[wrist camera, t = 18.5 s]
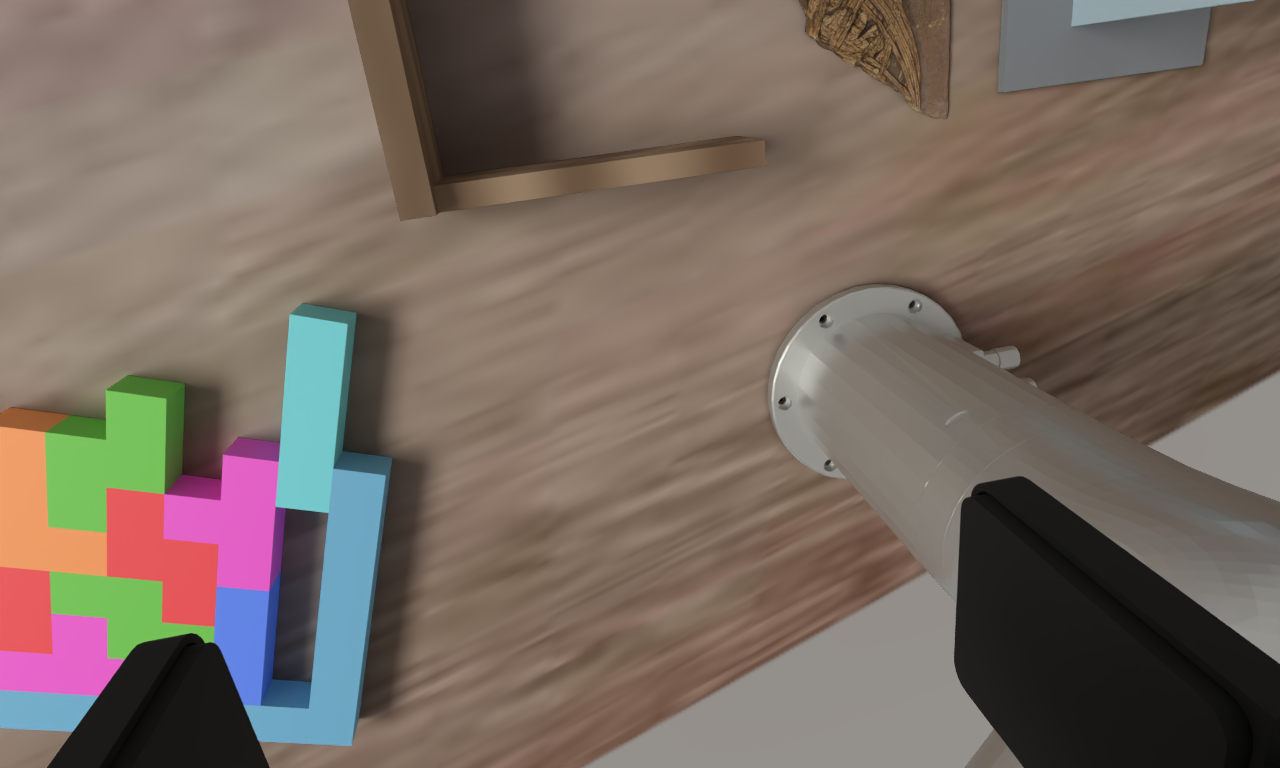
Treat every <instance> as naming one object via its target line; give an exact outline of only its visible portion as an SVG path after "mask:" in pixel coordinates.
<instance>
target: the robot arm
mask: <svg viewBox="0 0 1280 768" xmlns="http://www.w3.org/2000/svg"><path fill="white" fill-rule="evenodd" d="M911 301H912V302H911ZM910 303H911V305H910V306H909V304H910ZM822 315H824V319H823V320H822V321H819V320H820V318H821V317H822ZM1019 364H1020V354H1019V352H1018V349H1017V348H1016V347H1015V346H1005V347H999V348H993V349H990V350H988V351H982V350H980V349H978V348H977V347H975V346H973V345H971V344H969V343H967V342H965V341H963V338H962V335H961V332H960V330H959V329H958V327H957V325H956V324H955V322H954V320H953V319H952V317H951V316H950V315H949V314H948V313H947V312H946V311H945V310H944V309H943V308H942V307H941V306H940V305H939V304H937V303H936V302H934V301H933V300H931V299H930V298H928V297H927V296H925V295H923V294H921V293H918V292H916V291H914V290H912V289H909V288H905V287H901V286H897V285H890V284H870V285H864V286H858V287H853V288H851V289H848V290H845V291H842V292H839V293H837V294H834V295H833V296H831V297H829V298H827V299H826V300H824V301H822V302H820V303H819V304H817V305H816V306H815V307H814V308H812V309H811V310H810V311H809V312H808V313H806V314H805V315H804V316H803V317H802V318H801V319H800V320H799V321H798V322H797V323H796V325H795V326H794V327H793V328H792V329H791V330H790V332H789V333H788V334H787V336H786V338H785V339H784V341H783V343H782V344H781V346H780V348H779V349H778V352H777V354H776V357H775V359H774V362H773V365H772V367H771V372H770V377H769V382H768V408H769V412H770V417H771V421H772V424H773V426H774V428H775V430H776V432H777V435H778V437H779V438H780V439H781V441H782V442H783V444H784V445H785V446H786V448H787V449H788V450H789V451H790V452H791V453H792V455H793V456H794V457H795V458H796V459H797V460H798V461H799V462H801V463H802V464H804V465H805V466H807V467H808V468H810V469H811V470H813V471H815V472H817V473H820V474H822V475H825V476H828V477H833V478H839V479H844V480H848V481H849V482H850V483H851V484H852V486H853V487H854V488H855V489H856V490H857V491H858V492H859V494H860V495H861V496H862V497H863V498H864V499H865V500H866V502H867V503H868V504H869V505H870V506H871V507H872V509H873V510H874V511H875V512H876V513H877V514H878V515H879V517H880V518H881V519H882V520H883V521H884V522H885V523H886V525H887V526H888V527H889V528H890V529H891V530H892V531H893V533H894V534H895V535H896V536H897V537H898V538H899V540H900V541H901V542H902V543H903V544H904V545H905V546H906V548H907V549H908V550H909V551H910V552H911V553H912V554H913V556H914V557H915V558H916V559H917V560H918V561H919V562H920V564H921V565H922V566H923V567H924V568H925V569H926V571H927V572H928V573H929V574H930V575H931V576H932V577H933V579H934V580H935V581H936V582H937V583H938V584H939V585H940V587H942V589H943V590H944V591H945V592H946V593H947V594H948V595H949V596H950V597H951V598H952V599H953V600H954V601H955V602H956V603H957V605H956V628H955V650H954V663H955V668H956V672H957V675H958V678H959V680H960V683H961V685H962V686H963V688H964V689H965V691H966V692H967V694H968V695H969V696H970V698H971V699H972V700H973V702H974V703H975V704H976V705H977V707H978V708H979V709H980V711H981V712H982V713H983V715H984V716H985V717H986V719H987V720H988V721H989V723H990V724H991V725H992V727H993V728H994V730H993V731H992V732H991V733H990V735H989V736H988V738H987V739H986V740H985V741H984V743H983V744H982V745H981V747H980V748H979V749H978V751H977V752H976V753H975V755H974V756H973V757H972V758H971V760H970V761H969V762H968V764H967V765H966V766H965V768H1280V502H1279V501H1276V500H1273V499H1270V498H1267V497H1265V496H1262V495H1259V494H1256V493H1254V492H1251V491H1248V490H1246V489H1243V488H1240V487H1237V486H1235V485H1232V484H1230V483H1227V482H1224V481H1222V480H1220V479H1217V478H1215V477H1213V476H1210V475H1208V474H1205V473H1203V472H1200V471H1198V470H1196V469H1193V468H1191V467H1188V466H1186V465H1184V464H1182V463H1180V462H1178V461H1176V460H1174V459H1172V458H1170V457H1168V456H1166V455H1164V454H1162V453H1160V452H1158V451H1156V450H1154V449H1152V448H1150V447H1148V446H1146V445H1144V444H1142V443H1140V442H1138V441H1136V440H1134V439H1132V438H1130V437H1128V436H1126V435H1124V434H1122V433H1120V432H1118V431H1116V430H1114V429H1113V428H1111V427H1109V426H1107V425H1105V424H1103V423H1101V422H1100V421H1098V420H1096V419H1094V418H1092V417H1090V416H1089V415H1087V414H1085V413H1083V412H1081V411H1079V410H1077V409H1075V408H1073V407H1072V406H1070V405H1068V404H1066V403H1064V402H1062V401H1061V400H1059V399H1057V398H1055V397H1053V396H1052V395H1050V394H1048V393H1046V392H1044V391H1042V390H1041V389H1039V388H1038V387H1037V385H1036V383H1035V382H1034V381H1033V380H1032V379H1031V378H1030V377H1021V378H1019V377H1017V376H1015V375H1013V374H1011V373H1009V372H1008V371H1006V370H1007V369H1013V368H1017V367H1018V366H1019ZM783 397H784V399H783V400H782V401H780V402H778V401H779V400H780V399H781V398H783ZM47 768H269V765H268V763H267V760H266V758H265V755H264V753H263V751H262V748H261V746H260V743H259V741H258V739H257V736H256V734H255V731H254V729H253V727H252V724H251V722H250V719H249V717H248V714H247V712H246V710H245V707H244V705H243V702H242V700H241V698H240V695H239V693H238V690H237V688H236V686H235V683H234V681H233V678H232V676H231V673H230V671H229V669H228V666H227V664H226V661H225V659H224V657H223V654H222V652H221V650H220V648H219V647H218V646H217V645H216V644H215V643H212V642H208V643H205V642H204V640H203V639H202V638H201V637H200V636H199V635H198V634H194V633H189V634H184V635H178V636H173V637H168V638H162V639H157V640H152V641H147V642H143V643H140V644H138V645H136V646H135V647H134V648H133V649H132V650H131V652H130V653H129V654H128V656H127V657H126V659H125V660H124V661H123V663H122V664H121V666H120V667H119V668H118V670H117V671H116V673H115V674H114V675H113V677H112V678H111V679H110V681H109V682H108V684H107V685H106V686H105V688H104V689H103V691H102V692H101V693H100V695H99V696H98V698H97V699H96V700H95V702H94V703H93V705H92V706H91V707H90V709H89V710H88V711H87V713H86V714H85V716H84V717H83V718H82V720H81V721H80V723H79V724H78V725H77V727H76V728H75V730H74V731H73V732H72V734H71V735H70V736H69V738H68V739H67V741H66V742H65V743H64V745H63V746H62V748H61V749H60V750H59V752H58V753H57V755H56V756H55V757H54V759H53V760H52V762H51V763H50V764H49V766H48V767H47Z"/></svg>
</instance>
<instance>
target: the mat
mask: <svg viewBox="0 0 1280 768" xmlns="http://www.w3.org/2000/svg"><path fill="white" fill-rule="evenodd" d="M1072 12H1073V0H1002V14H1001V33H1000V52H999V71H998V90H997V92H1009V91H1016V90H1024V89H1031V88H1038V87H1045V86H1053V85H1060V84H1067V83H1075V82H1082V81H1089V80H1096V79H1104V78H1111V77H1118V76H1126V75H1133V74H1140V73H1147V72H1155V71H1162V70H1169V69H1176V68H1184V67H1191V66H1198V65H1203V60H1204V53H1205V46H1206V39H1207V32H1208V26H1209V19H1210V12H1211V7H1208V8H1201V9H1194V10H1187V11H1180V12H1173V13H1166V14H1160V15H1153V16H1146V17H1138V18H1131V19H1123V20H1116V21H1109V22H1101V23H1094V24H1087V25H1079V26H1072V27H1071V24H1072Z"/></svg>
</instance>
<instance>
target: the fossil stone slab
mask: <svg viewBox="0 0 1280 768" xmlns="http://www.w3.org/2000/svg"><path fill="white" fill-rule="evenodd" d="M799 2H800V4H801V6H802V8H803V10H804V11H805V15H806V17H807V21H806V28H805V32H806V34H807V35H808V36H810V37H811V38H812V39H815V41H816V42H817V43H818V45H819V46H820V47H822V48H824V49H827V50H830V51H833V52H834V53H835V54H836V55H837V56H838V57H839V58H840V59H841V60H843V61H844V62H847V63H848V64H849V65H851V66H852V67H855V66H859V67H861V68H862V70H863V71H864V72H866V73H868V74H869V75H871V76H872V77H873V78H875V79H878V80H879V81H881V82H883V83H884V84H886V85H888V86H890V87H892V88H893V89H894V90H895V91H897V92H901V93H903V94H904V95H905V97H906V102H907V103H908V104H909V105H910V106H911V107H912V108H913V109H914V110H915V111H917V112H920V113H922V114H924V115H927V116H929V117H931V118H942V119H947V114H948V76H949V75H948V73H949V31H950V21H949V12H950V0H799Z"/></svg>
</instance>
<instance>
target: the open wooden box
mask: <svg viewBox="0 0 1280 768" xmlns="http://www.w3.org/2000/svg"><path fill="white" fill-rule="evenodd" d="M348 3H349V7H350V12H351V16H352V20H353V24H354V28H355V33H356V37H357V41H358V45H359V49H360V54H361V58H362V62H363V66H364V70H365V75H366V79H367V83H368V87H369V91H370V95H371V100H372V104H373V108H374V112H375V116H376V121H377V125H378V129H379V133H380V137H381V142H382V146H383V150H384V154H385V158H386V163H387V167H388V171H389V175H390V179H391V184H392V188H393V192H394V196H395V200H396V205H397V209H398V213H399V217H400V221H402V220H409V219H416V218H423V217H430V216H436V215H437V214H438V213H440V212H447V211H454V210H461V209H468V208H475V207H482V206H489V205H496V204H503V203H510V202H517V201H524V200H531V199H538V198H545V197H552V196H559V195H566V194H573V193H580V192H587V191H594V190H601V189H608V188H615V187H622V186H629V185H636V184H643V183H650V182H657V181H664V180H671V179H678V178H685V177H692V176H699V175H706V174H713V173H720V172H727V171H734V170H741V169H748V168H755V167H762V166H766V153H765V140H762V139H754V138H747V137H740V136H734V137H726V138H719V139H712V140H705V141H697V142H690V143H683V144H676V145H668V146H661V147H654V148H647V149H640V150H632V151H625V152H618V153H611V154H603V155H596V156H589V157H582V158H574V159H567V160H560V161H553V162H546V163H538V164H531V165H524V166H517V167H509V168H502V169H495V170H488V171H481V172H473V173H466V174H459V175H452V176H443V171H442V166H441V162H440V157H439V152H438V147H437V143H436V138H435V133H434V129H433V124H432V119H431V115H430V110H429V105H428V100H427V96H426V91H425V86H424V82H423V77H422V72H421V67H420V63H419V58H418V53H417V49H416V44H415V39H414V35H413V30H412V25H411V20H410V16H409V11H408V6H407V2H406V0H348Z"/></svg>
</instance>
